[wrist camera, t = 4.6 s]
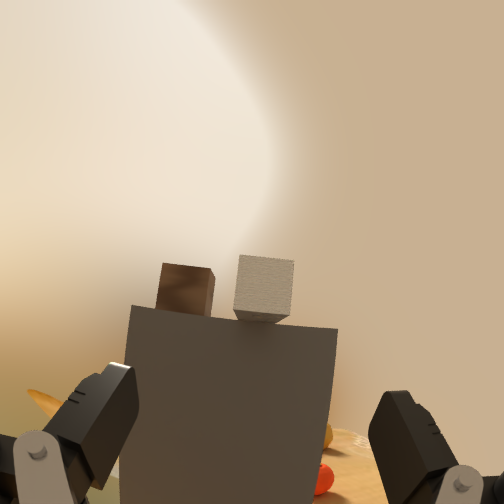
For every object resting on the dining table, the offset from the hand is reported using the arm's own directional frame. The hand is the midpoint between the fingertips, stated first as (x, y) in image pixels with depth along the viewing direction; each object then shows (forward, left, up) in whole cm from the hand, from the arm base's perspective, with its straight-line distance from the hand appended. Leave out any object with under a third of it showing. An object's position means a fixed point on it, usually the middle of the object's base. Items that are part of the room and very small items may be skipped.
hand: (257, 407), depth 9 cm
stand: (-2, +22, -28) cm, 36 cm away
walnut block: (-8, +23, +4) cm, 24 cm away
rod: (0, +21, +4) cm, 21 cm away
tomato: (+15, +46, -29) cm, 56 cm away
